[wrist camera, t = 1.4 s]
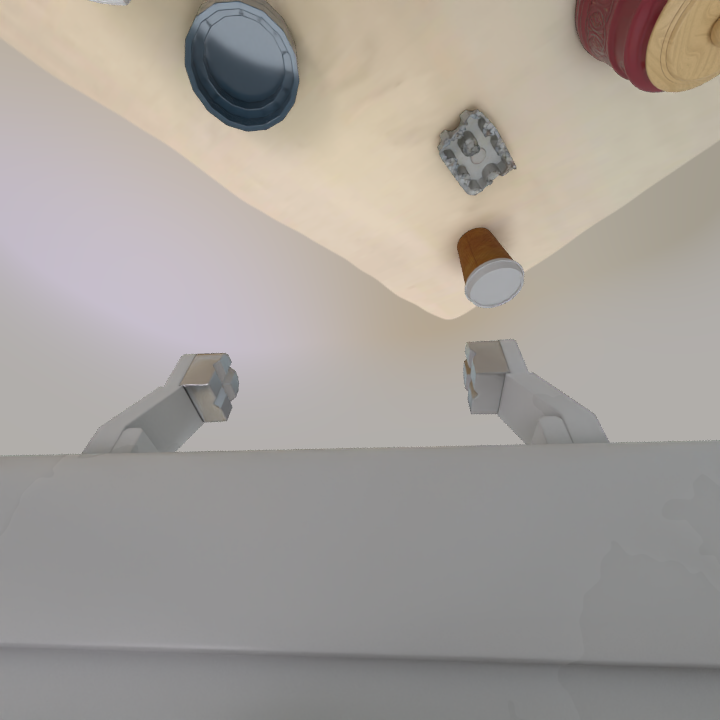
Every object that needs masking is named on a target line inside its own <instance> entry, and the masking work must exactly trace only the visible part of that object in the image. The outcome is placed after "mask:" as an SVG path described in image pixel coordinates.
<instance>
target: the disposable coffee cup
mask: <svg viewBox="0 0 720 720" xmlns="http://www.w3.org/2000/svg"><path fill="white" fill-rule="evenodd" d="M457 250H458V254H459V258H460V263H461V267H462V272H463V276H464V281H465V295H466V297H467V298H468V300H469V301H471V302H473V303H474V304H475V305H476V306H478V307H483V308H492V307H496V306H499V305H502V304H504V303H506V302H508V301H510V300H511V299H512V298H514V297H515V296H516V295H517V294H518V292H519V291H520V290H521V288H522V286H523V282H524V271H523V268H522V266H521V265H520V264H519V263H517V262H516V261H514V260H513V259H512V258H511V257H510V256H509V254H508V253H507V252H506V251H505V249H504V248H503V247H502V246H501V245H500V243H499V242H498V241H497V239H496V238H495V237H494V236H493V235H492V233H491V232H490V231H489V230H488V229H485V228H475V229H472V230H470V231H468V232H466V233H465V234H464V235H463V236H462V237H461V238H460V240H459V242H458V245H457Z"/></svg>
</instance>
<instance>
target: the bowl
mask: <svg viewBox="0 0 720 720" xmlns="http://www.w3.org/2000/svg"><path fill="white" fill-rule="evenodd" d="M185 67H186V70H187V73H188V76H189V80H190V83H191V86H192V89H193V90H194V92H195V94H196V95H197V97H198V98H199V99H200V101H201V102H202V103H203V105H204V106H205V108H206V109H207V110H208V112H210V113H211V114H212V115H214V116H215V117H216V118H218V119H219V120H220V121H222V122H223V123H225V124H226V125H228V126H231V127H234V128H237V129H241V130H244V131H258V130H267V129H269V128H270V127H272V126H274V125H276V124H277V123H279V122H281V121H282V120H283V119H284V118H285V117H286V115H287V114H288V112H289V111H290V109H291V108H292V106H293V105H294V103H295V99H296V95H297V90H298V85H299V70H298V62H297V54H296V47H295V42H294V40H293V38H292V36H291V34H290V32H289V29H288V27H287V25H286V23H285V21H284V19H283V18H282V17H281V16H280V15H279V14H278V13H277V12H276V11H275V10H274V9H273V8H272V7H271V6H270V5H269V4H268V3H267V2H266V1H265V0H207V1H206V2H205V3H203V4H202V5H201V6H200V8H199V10H198V12H197V15H196V17H195V19H194V21H193V23H192V25H191V28H190V30H189V32H188V34H187V36H186V39H185Z"/></svg>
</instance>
